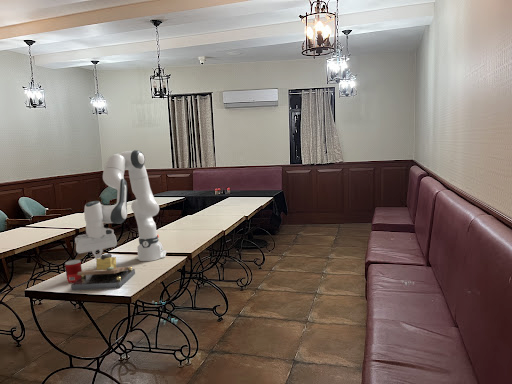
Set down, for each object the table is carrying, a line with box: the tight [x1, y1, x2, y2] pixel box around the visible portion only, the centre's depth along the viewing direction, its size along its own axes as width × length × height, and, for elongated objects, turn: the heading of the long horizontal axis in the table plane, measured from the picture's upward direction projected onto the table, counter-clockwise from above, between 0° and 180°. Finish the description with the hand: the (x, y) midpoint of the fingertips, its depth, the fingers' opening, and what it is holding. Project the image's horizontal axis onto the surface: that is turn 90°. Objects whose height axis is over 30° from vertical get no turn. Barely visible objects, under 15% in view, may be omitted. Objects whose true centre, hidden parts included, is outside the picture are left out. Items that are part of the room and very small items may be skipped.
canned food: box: [64, 259, 83, 284], centre depth 223 cm, size 8×8×11 cm
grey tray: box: [70, 266, 136, 291], centre depth 218 cm, size 22×26×5 cm
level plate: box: [78, 253, 129, 275], centre depth 218 cm, size 19×20×10 cm
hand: (98, 258), depth 210 cm, fingers closed
